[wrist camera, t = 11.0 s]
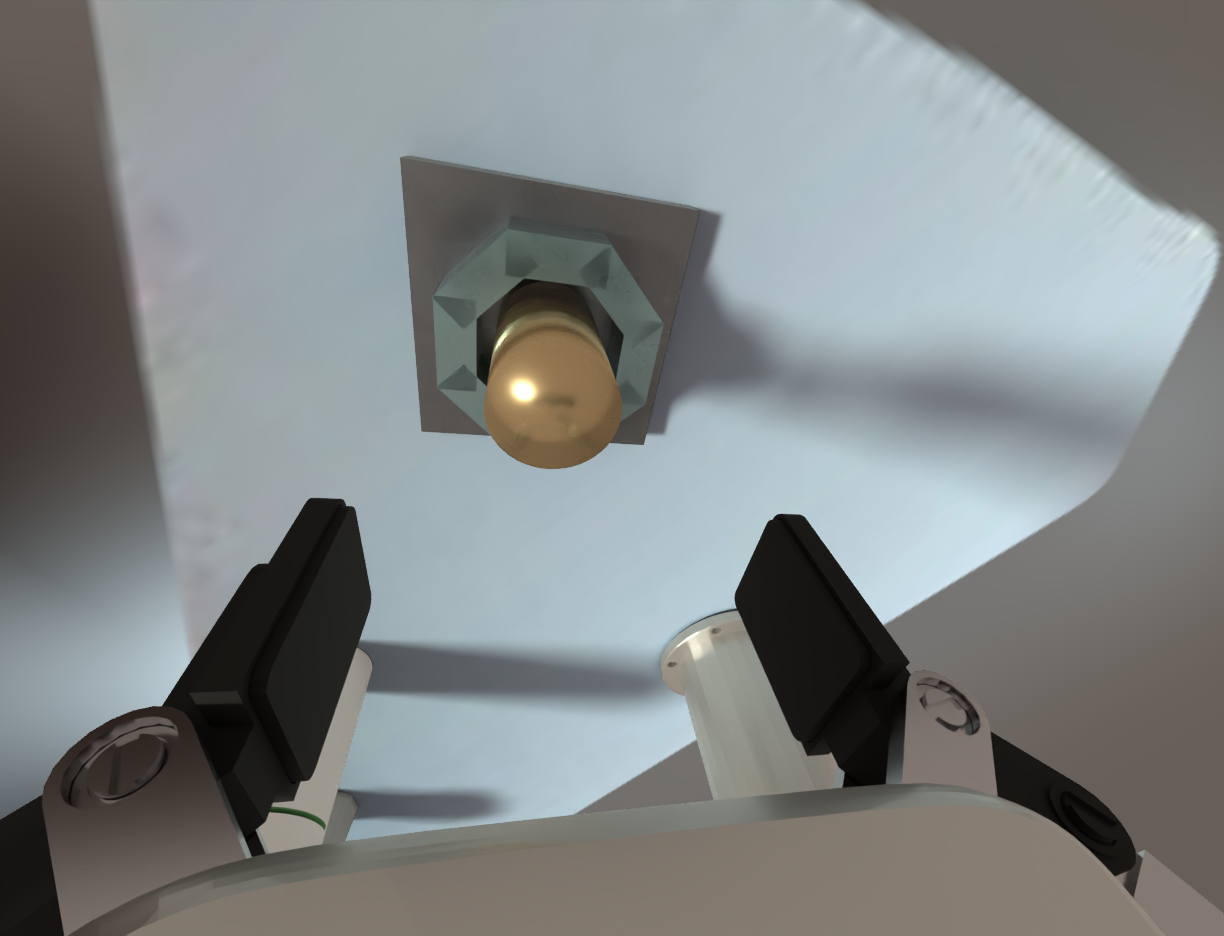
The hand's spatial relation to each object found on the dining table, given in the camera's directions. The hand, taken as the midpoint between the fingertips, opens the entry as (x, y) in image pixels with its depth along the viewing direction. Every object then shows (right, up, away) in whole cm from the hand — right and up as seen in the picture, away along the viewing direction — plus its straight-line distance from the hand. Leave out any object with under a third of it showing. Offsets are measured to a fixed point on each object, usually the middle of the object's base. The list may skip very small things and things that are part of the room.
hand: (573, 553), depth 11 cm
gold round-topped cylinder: (-2, +8, +11) cm, 14 cm away
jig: (-2, +9, +13) cm, 16 cm away
